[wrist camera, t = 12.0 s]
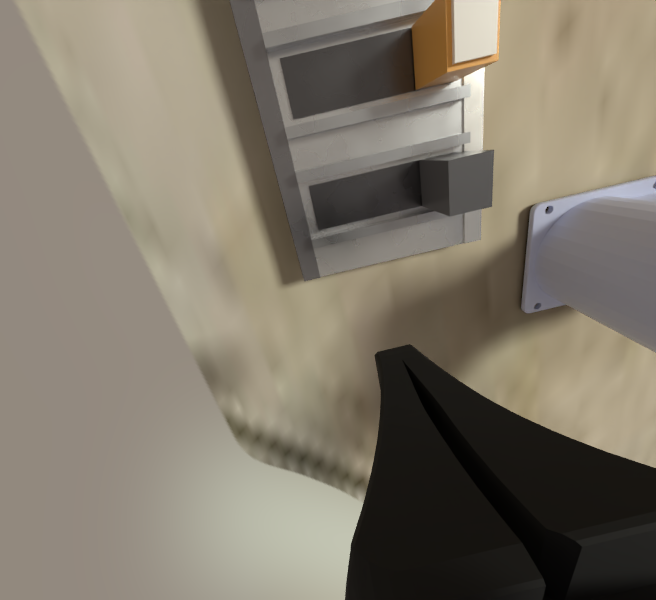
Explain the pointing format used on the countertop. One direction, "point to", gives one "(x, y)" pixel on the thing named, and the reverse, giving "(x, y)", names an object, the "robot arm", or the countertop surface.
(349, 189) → the panel
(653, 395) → the countertop surface
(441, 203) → the block
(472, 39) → the block
